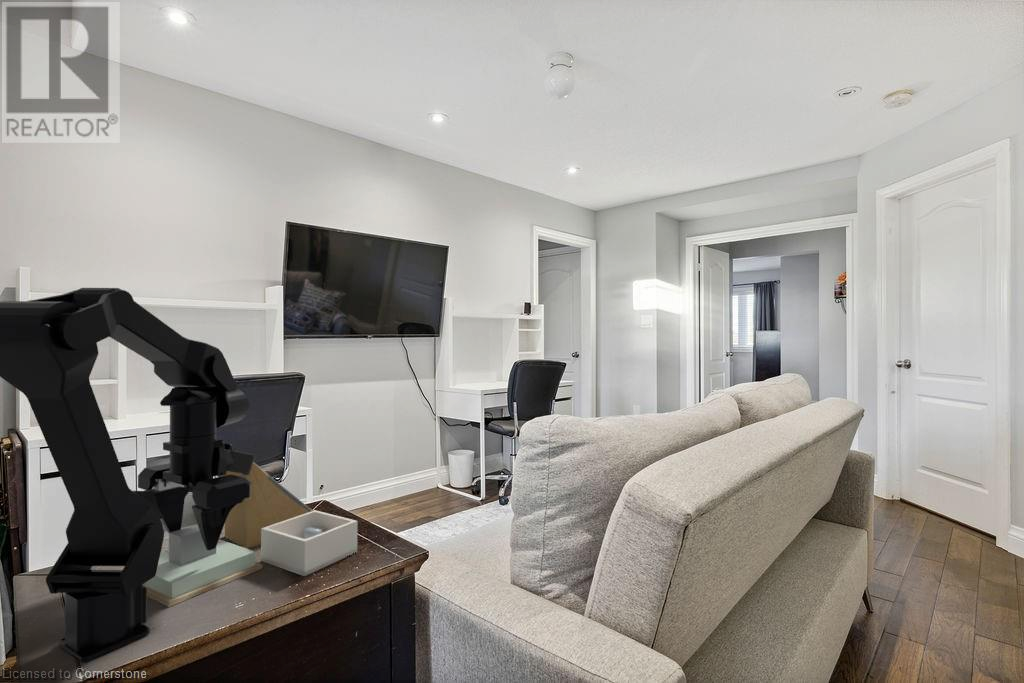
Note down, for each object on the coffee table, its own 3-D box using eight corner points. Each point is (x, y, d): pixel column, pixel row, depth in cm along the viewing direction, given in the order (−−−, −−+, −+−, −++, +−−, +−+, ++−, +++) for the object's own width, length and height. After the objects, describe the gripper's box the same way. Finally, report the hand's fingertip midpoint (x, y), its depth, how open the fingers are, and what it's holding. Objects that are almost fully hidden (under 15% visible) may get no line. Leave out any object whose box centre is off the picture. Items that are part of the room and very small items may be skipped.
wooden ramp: (331, 524, 96) (332, 443, 96) (246, 550, 85) (247, 457, 85) (307, 514, 102) (307, 437, 102) (223, 537, 90) (224, 450, 90)
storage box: (304, 576, 75) (304, 541, 75) (261, 561, 80) (261, 528, 80) (357, 552, 84) (357, 520, 84) (314, 539, 89) (315, 510, 89)
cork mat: (168, 606, 66) (168, 602, 66) (118, 582, 73) (118, 578, 73) (262, 568, 77) (262, 564, 77) (211, 550, 84) (211, 546, 84)
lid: (172, 598, 67) (172, 551, 67) (126, 577, 73) (127, 534, 73) (255, 565, 77) (255, 524, 77) (209, 548, 83) (210, 511, 83)
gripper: (284, 431, 77) (284, 537, 77) (211, 421, 87) (211, 515, 87) (209, 444, 68) (208, 565, 68) (136, 431, 77) (135, 537, 77)
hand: (192, 542), depth 75 cm, fingers open, 9 cm apart
